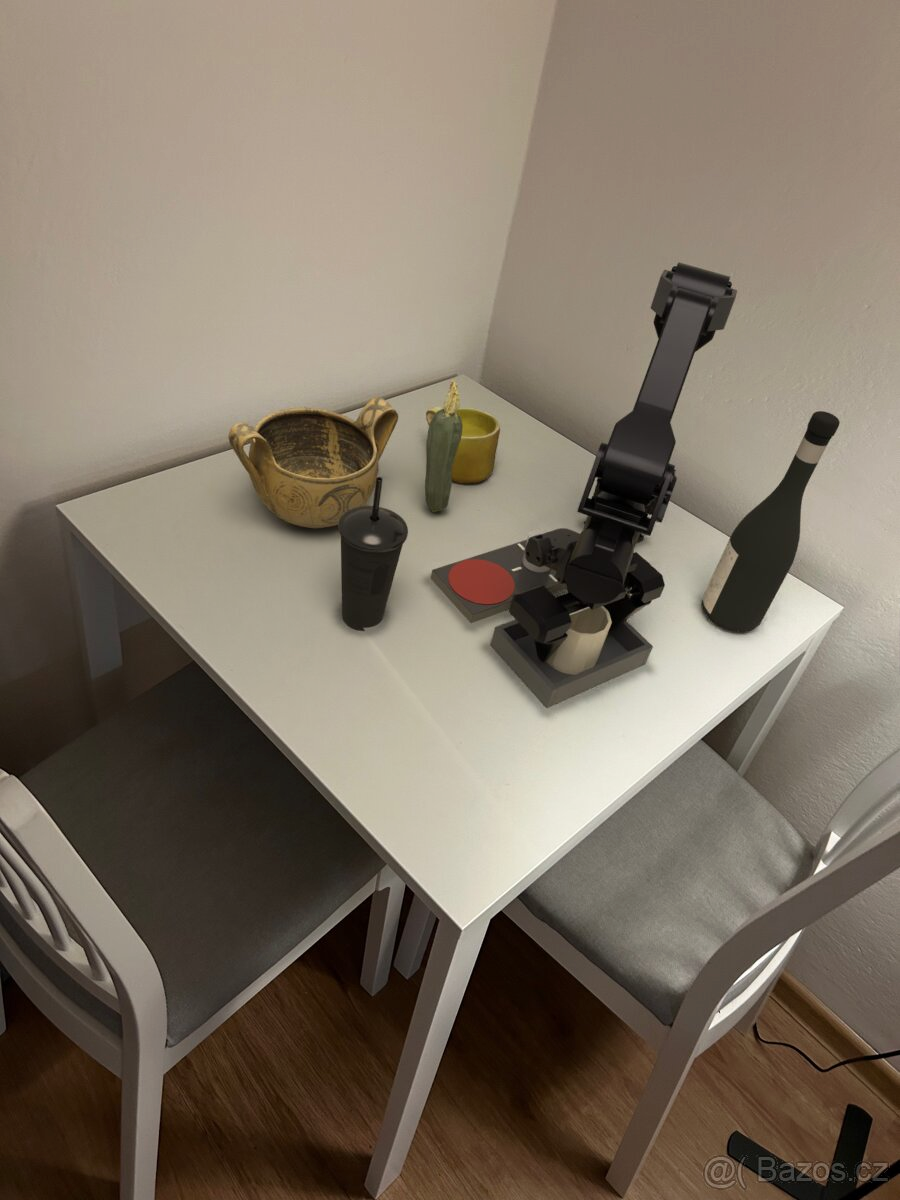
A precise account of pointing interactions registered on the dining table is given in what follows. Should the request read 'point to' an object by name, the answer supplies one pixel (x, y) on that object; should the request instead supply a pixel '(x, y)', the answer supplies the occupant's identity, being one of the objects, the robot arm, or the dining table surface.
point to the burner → (481, 581)
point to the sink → (553, 686)
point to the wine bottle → (765, 541)
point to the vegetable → (442, 450)
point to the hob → (513, 565)
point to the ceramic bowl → (315, 460)
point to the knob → (529, 565)
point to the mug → (473, 445)
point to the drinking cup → (369, 560)
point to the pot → (582, 641)
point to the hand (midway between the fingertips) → (571, 647)
